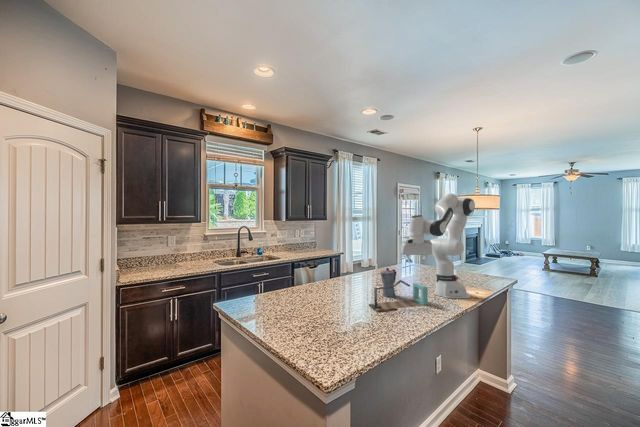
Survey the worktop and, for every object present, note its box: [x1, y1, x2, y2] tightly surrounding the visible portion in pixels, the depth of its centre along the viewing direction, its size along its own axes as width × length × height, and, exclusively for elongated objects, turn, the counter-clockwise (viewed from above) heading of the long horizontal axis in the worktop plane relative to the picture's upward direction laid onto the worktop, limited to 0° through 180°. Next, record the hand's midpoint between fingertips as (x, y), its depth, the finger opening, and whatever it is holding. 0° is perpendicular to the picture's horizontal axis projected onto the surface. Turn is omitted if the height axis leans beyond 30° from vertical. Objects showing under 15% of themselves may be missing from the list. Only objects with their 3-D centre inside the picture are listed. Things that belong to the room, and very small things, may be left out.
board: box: [368, 299, 431, 313], centre depth 172 cm, size 36×12×1 cm, turn 104°
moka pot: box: [380, 267, 397, 298], centre depth 192 cm, size 10×15×20 cm, turn 132°
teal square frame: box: [412, 282, 429, 306], centre depth 176 cm, size 3×11×11 cm, turn 14°
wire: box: [369, 279, 411, 309], centre depth 171 cm, size 26×5×15 cm, turn 104°
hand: (416, 261), depth 179 cm, fingers open, 8 cm apart
